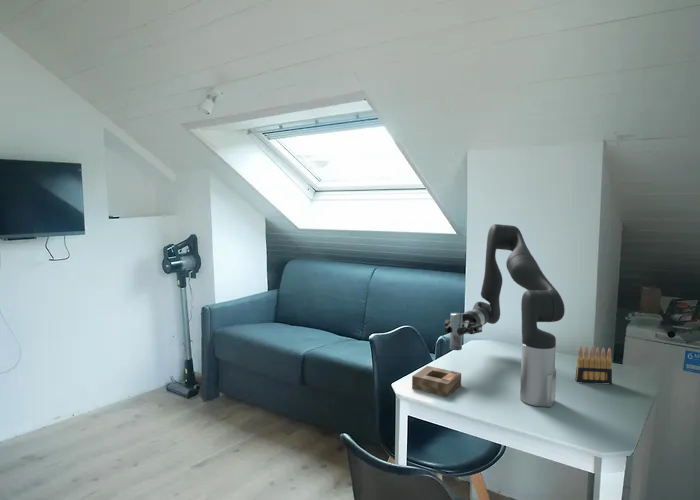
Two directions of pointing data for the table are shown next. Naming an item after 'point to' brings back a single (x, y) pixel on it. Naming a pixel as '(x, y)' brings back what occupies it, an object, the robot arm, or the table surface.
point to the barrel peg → (455, 331)
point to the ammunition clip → (594, 367)
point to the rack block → (436, 380)
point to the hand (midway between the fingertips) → (453, 331)
